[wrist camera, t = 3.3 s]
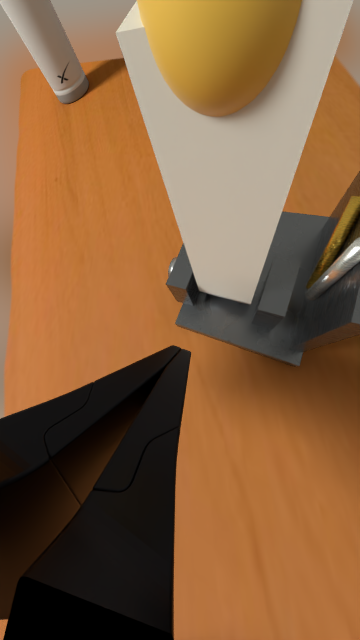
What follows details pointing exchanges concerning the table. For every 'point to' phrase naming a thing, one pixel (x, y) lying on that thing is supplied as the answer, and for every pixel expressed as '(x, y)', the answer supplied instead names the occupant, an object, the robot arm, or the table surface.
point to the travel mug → (48, 46)
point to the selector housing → (287, 288)
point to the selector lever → (229, 117)
